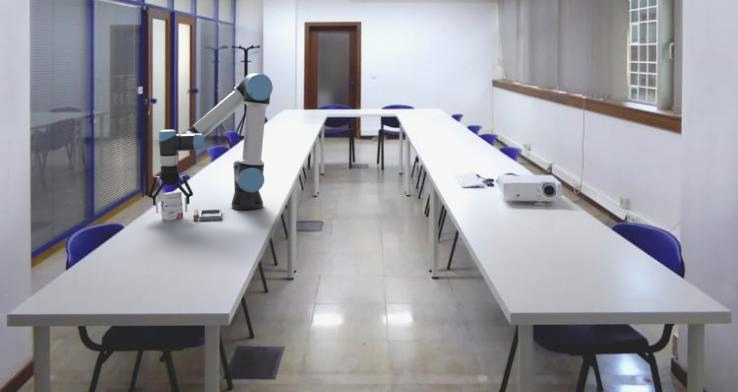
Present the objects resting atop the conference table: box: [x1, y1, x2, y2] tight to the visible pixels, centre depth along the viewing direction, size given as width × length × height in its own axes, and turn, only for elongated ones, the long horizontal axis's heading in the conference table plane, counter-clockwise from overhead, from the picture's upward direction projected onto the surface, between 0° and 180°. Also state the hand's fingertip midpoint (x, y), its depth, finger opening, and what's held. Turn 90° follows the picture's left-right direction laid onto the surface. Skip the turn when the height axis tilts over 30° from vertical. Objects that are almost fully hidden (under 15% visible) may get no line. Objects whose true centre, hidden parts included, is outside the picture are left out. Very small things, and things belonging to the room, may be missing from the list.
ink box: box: [159, 190, 184, 221], centre depth 320 cm, size 9×5×12 cm, turn 141°
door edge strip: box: [192, 209, 199, 222], centre depth 322 cm, size 2×12×2 cm, turn 11°
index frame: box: [198, 208, 222, 222], centre depth 323 cm, size 10×14×2 cm
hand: (171, 211), depth 321 cm, fingers open, 12 cm apart
